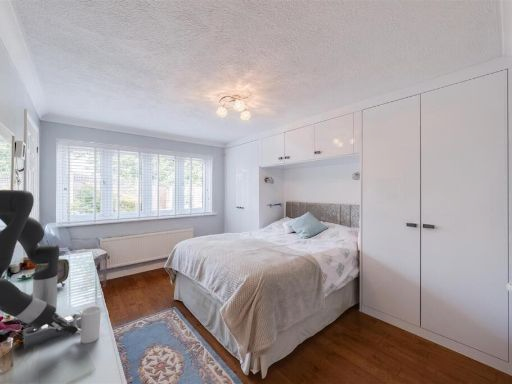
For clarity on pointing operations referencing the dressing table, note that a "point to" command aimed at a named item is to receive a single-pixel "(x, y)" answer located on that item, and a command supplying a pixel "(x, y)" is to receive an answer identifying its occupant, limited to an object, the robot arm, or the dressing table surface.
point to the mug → (89, 324)
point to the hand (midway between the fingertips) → (75, 331)
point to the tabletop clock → (62, 270)
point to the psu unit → (45, 333)
